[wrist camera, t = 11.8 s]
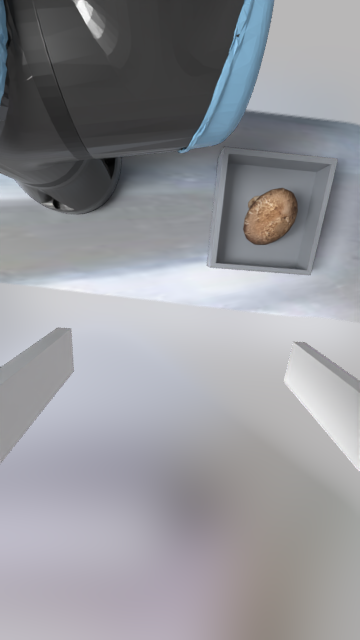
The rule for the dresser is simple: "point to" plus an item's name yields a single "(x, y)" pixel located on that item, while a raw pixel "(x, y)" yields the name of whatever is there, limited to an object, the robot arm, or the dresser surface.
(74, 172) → the robot arm
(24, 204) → the dresser surface
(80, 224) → the dresser surface
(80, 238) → the dresser surface
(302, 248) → the tray
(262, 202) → the mushroom
